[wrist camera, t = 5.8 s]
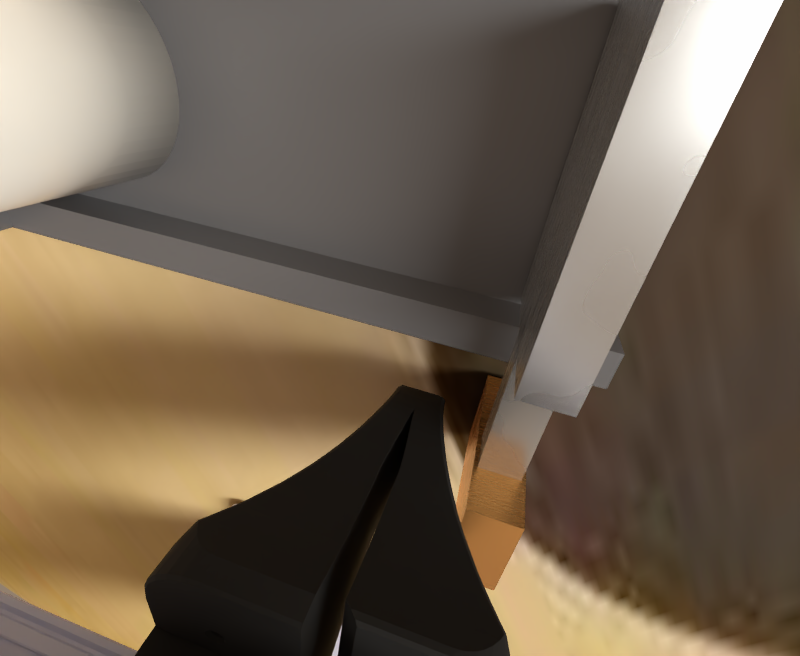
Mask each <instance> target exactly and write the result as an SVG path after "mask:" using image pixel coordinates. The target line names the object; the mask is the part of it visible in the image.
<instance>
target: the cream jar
mask: <svg viewBox="0 0 800 656" xmlns="http://www.w3.org/2000/svg"><path fill="white" fill-rule="evenodd" d="M178 125H179V97H178V89H177V84H176V78H175V74H174V71H173V67H172V63H171V60H170V58H169V55H168V52H167V49H166V47H165V44H164V42H163V40H162V38H161V36H160V34H159V31H158V30H157V28H156V26H155V24H154V23H153V21H152V19H151V17H150V15H149V14H148V13H147V11H146V10H145V8H144V7H143V5H142V4H141V2H140V1H139V0H0V212H3V211H7V210H11V209H15V208H20V207H24V206H28V205H32V204H36V203H40V202H44V201H48V200H53V199H57V198H61V197H65V196H69V195H73V194H77V193H82V192H86V191H90V190H94V189H98V188H102V187H106V186H110V185H115V184H119V183H123V182H127V181H131V180H135V179H139V178H143V177H145V176H148V175H150V174H152V173H153V172H155V171H156V170H158V169H159V168H160V167H161V166H162V165H163V164H164V162H165V161H166V160H167V158H168V157H169V155H170V153H171V151H172V149H173V147H174V143H175V140H176V137H177V132H178Z"/></svg>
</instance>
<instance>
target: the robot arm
mask: <svg viewBox="0 0 800 656" xmlns="http://www.w3.org/2000/svg"><path fill="white" fill-rule="evenodd" d="M444 404H445V400H444V398H443V397H442V396H438V395H435V394H432V393H428V392H425V391H421V390H418V389H414V388H411V387H408V386H404V385H402V386H400V387H398V388H397V390H396V391H395V392H394V393H393V395H392V396H391V397H390V398H389V399H388V400H387V401H386V402H385V403H384V405H383V406H382V407H381V408H380V409H379V410H378V411H377V412H376V413H375V414H374V415H372V416H371V417H370V418H369V419H368V420H367V421H366V422H365V423H364V424H363V425H362V426H361V427H360V428H358V429H357V430H356V431H355V432H354V433H352V434H351V435H350V436H349V437H348V438H346V439H345V440H344V441H343V442H342V443H340V444H339V445H338V446H336V447H335V448H334V449H332V450H331V451H330V452H328V453H327V454H326V455H324V456H323V457H321V458H320V459H318V460H317V461H315V462H314V463H312V464H311V465H309V466H308V467H306V468H304V469H303V470H301V471H300V472H298V473H296V474H295V475H293V476H291V477H290V478H288V479H286V480H285V481H283V482H281V483H279V484H277V485H275V486H273V487H271V488H269V489H267V490H265V491H263V492H261V493H260V494H258V495H256V496H254V497H252V498H250V499H248V500H245V501H243V502H241V503H239V504H233V505H232V506H231V507H229V508H227V509H225V510H222V511H220V512H217V513H215V514H213V515H210V516H208V517H205V518H203V519H200V520H198V521H197V522H196V523H195V524H194V525H193V526H192V527H191V528H190V529H189V530H188V531H187V532H186V533H185V534H184V535H183V536H182V537H181V538H180V539H179V540H178V541H177V542H176V543H175V545H174V546H173V547H172V548H171V549H170V551H169V552H168V553H167V555H166V556H165V557H164V558H163V560H162V561H161V562H160V563H159V565H158V566H157V567H156V569H155V570H154V571H153V572H152V574H151V575H150V576H149V577H148V579H147V581H146V583H145V594H146V599H147V602H148V605H149V608H150V611H151V614H152V616H153V619H154V622H155V625H156V626H155V627H154V629H153V630H152V632H151V633H150V634H149V636H148V637H147V639H146V640H145V642H144V643H143V644H142V646H141V647H140V649H139V650H138V651H136V650H134V649H132V648H129V647H127V646H125V645H122V644H120V643H118V642H116V641H113V640H111V639H109V638H107V637H104V636H102V635H100V634H97V633H95V632H93V631H91V630H88V629H86V628H84V627H82V626H79V625H77V624H75V623H72V622H70V621H68V620H66V619H63V618H61V617H59V616H57V615H54V614H52V613H50V612H48V611H45V610H43V609H41V608H38V607H36V606H34V605H32V604H29V603H27V602H25V601H23V600H20V599H18V598H16V597H13V596H11V595H9V594H6V593H4V592H2V591H0V656H510V652H509V647H508V641H507V636H506V633H505V631H504V629H503V627H502V625H501V623H500V621H499V619H498V616H497V614H496V612H495V610H494V608H493V606H492V604H491V601H490V599H489V597H488V595H487V592H486V590H485V588H484V585H483V583H482V580H481V578H480V576H479V573H478V571H477V568H476V566H475V563H474V560H473V557H472V555H471V552H470V549H469V546H468V544H467V541H466V538H465V535H464V532H463V529H462V525H461V522H460V519H459V516H458V512H457V508H456V504H455V501H454V497H453V492H452V488H451V483H450V478H449V473H448V467H447V461H446V453H445V444H444V433H443V411H444ZM372 537H373V538H372ZM371 539H372V540H371ZM370 542H371V543H370Z"/></svg>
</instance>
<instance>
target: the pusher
mask: <svg viewBox="0 0 800 656" xmlns="http://www.w3.org/2000/svg"><path fill="white" fill-rule="evenodd" d="M782 2H783V0H620V1H619V4H618V7H617V10H616V13H615V16H614V19H613V22H612V25H611V28H610V31H609V34H608V37H607V40H606V43H605V46H604V49H603V52H602V55H601V58H600V61H599V64H598V67H597V70H596V73H595V76H594V79H593V82H592V85H591V88H590V91H589V94H588V97H587V100H586V103H585V106H584V109H583V112H582V115H581V118H580V121H579V124H578V127H577V130H576V133H575V136H574V139H573V142H572V145H571V148H570V151H569V154H568V157H567V160H566V163H565V166H564V169H563V172H562V175H561V178H560V181H559V184H558V187H557V190H556V193H555V196H554V199H553V202H552V205H551V208H550V211H549V214H548V217H547V220H546V223H545V226H544V229H543V232H542V235H541V238H540V241H539V244H538V247H537V251H536V254H535V257H534V260H533V263H532V266H531V269H530V272H529V275H528V278H527V281H526V284H525V287H524V290H523V293H522V296H521V307H520V321H519V332H518V335H517V337H516V340H515V343H514V346H513V349H512V352H511V355H510V358H509V361H508V363H507V366H506V369H505V372H504V375H503V378H502V379H500V378H497V377H493V376H490V375H488V377H487V380H486V384H485V387H484V390H483V393H482V396H481V399H480V402H479V405H478V408H477V412H476V415H475V418H474V421H473V424H472V427H471V430H470V434H469V440H468V445H467V450H466V455H465V461H464V466H463V471H462V476H461V482H460V487H459V492H458V497H457V503H456V508H457V512H458V516H459V519H460V522H461V525H462V529H463V532H464V535H465V538H466V541H467V544H468V546H469V549H470V552H471V555H472V557H473V560H474V563H475V566H476V568H477V571H478V573H479V576H480V578H481V580H482V583H483V585H484V587H486V588H488V589H491V590H494V589H495V587H496V585H497V583H498V581H499V579H500V577H501V575H502V573H503V571H504V569H505V567H506V565H507V563H508V561H509V559H510V557H511V555H512V553H513V551H514V549H515V547H516V545H517V543H518V541H519V539H520V537H521V535H522V533H523V531H524V528H525V491H526V469H527V467H528V465H529V463H530V461H531V458H532V456H533V454H534V452H535V449H536V447H537V445H538V443H539V441H540V438H541V436H542V434H543V432H544V430H545V427H546V425H547V423H548V421H549V418H550V416H551V414H552V412H553V411H556V412H559V413H563V414H566V415H570V416H573V417H577V415H578V413H579V411H580V409H581V407H582V405H583V403H584V401H585V399H586V397H587V395H588V393H589V391H590V389H591V387H592V385H593V383H594V381H595V379H596V377H597V375H598V373H599V371H600V369H601V367H602V365H603V363H604V360H605V358H606V356H607V354H608V352H609V350H610V348H611V346H612V344H613V342H614V340H615V338H616V336H617V334H618V332H619V330H620V328H621V326H622V324H623V322H624V320H625V318H626V316H627V314H628V312H629V310H630V308H631V306H632V304H633V302H634V300H635V298H636V296H637V294H638V292H639V290H640V288H641V286H642V284H643V282H644V280H645V278H646V276H647V274H648V272H649V270H650V268H651V266H652V264H653V262H654V260H655V258H656V256H657V254H658V252H659V250H660V248H661V246H662V244H663V242H664V240H665V237H666V235H667V233H668V231H669V229H670V227H671V225H672V223H673V221H674V219H675V217H676V215H677V213H678V211H679V209H680V207H681V205H682V203H683V201H684V199H685V197H686V195H687V193H688V191H689V189H690V187H691V185H692V183H693V181H694V179H695V177H696V175H697V173H698V171H699V169H700V167H701V165H702V163H703V161H704V159H705V157H706V155H707V153H708V151H709V149H710V147H711V145H712V143H713V141H714V139H715V137H716V135H717V133H718V131H719V129H720V127H721V125H722V123H723V121H724V119H725V117H726V114H727V112H728V110H729V108H730V106H731V104H732V102H733V100H734V98H735V96H736V94H737V92H738V90H739V88H740V86H741V84H742V82H743V80H744V78H745V76H746V74H747V72H748V70H749V68H750V66H751V64H752V62H753V60H754V58H755V56H756V54H757V52H758V50H759V48H760V46H761V44H762V42H763V40H764V38H765V36H766V34H767V32H768V30H769V28H770V26H771V24H772V22H773V20H774V18H775V16H776V14H777V12H778V10H779V8H780V6H781V4H782Z"/></svg>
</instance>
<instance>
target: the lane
mask: <svg viewBox="0 0 800 656" xmlns="http://www.w3.org/2000/svg"><path fill="white" fill-rule="evenodd" d="M139 1H140V2H141V4H142V5H143V7H144V8H145V10H146V11H147V13H148V14H149V15H150V17H151V19H152V21H153V23H154V24H155V26H156V28H157V30H158V31H159V34H160V36H161V38H162V40H163V42H164V44H165V47H166V49H167V52H168V55H169V58H170V60H171V63H172V67H173V71H174V74H175V78H176V84H177V89H178V97H179V125H178V132H177V137H176V140H175V143H174V147H173V149H172V151H171V153H170V155H169V157H168V158H167V160H166V161H165V162H164V164H163V165H162V166H161V167H160V168H159V169H158V170H156V171H155V172H153V173H152V174H150V175H148V176H145V177H143V178H139V179H135V180H131V181H127V182H123V183H119V184H115V185H110V186H106V187H102V188H98V189H94V190H90V191H86V192H82V193H77V194H73V195H69V196H65V197H61V198H57V199H53V200H48V201H44V202H40V203H36V204H32V205H28V206H24V207H20V208H15V209H11V210H7V211H3V212H0V231H1V230H4V229H8V228H12V227H14V228H18V229H21V230H25V231H29V232H32V233H36V234H40V235H43V236H47V237H51V238H54V239H58V240H62V241H65V242H69V243H73V244H76V245H80V246H84V247H87V248H91V249H95V250H98V251H102V252H106V253H109V254H113V255H117V256H120V257H124V258H128V259H131V260H135V261H139V262H142V263H146V264H150V265H153V266H157V267H161V268H164V269H168V270H172V271H175V272H179V273H183V274H186V275H190V276H194V277H197V278H201V279H205V280H208V281H212V282H216V283H219V284H223V285H227V286H230V287H234V288H238V289H241V290H245V291H249V292H252V293H256V294H260V295H263V296H267V297H271V298H274V299H278V300H282V301H285V302H289V303H293V304H296V305H300V306H304V307H307V308H311V309H315V310H318V311H322V312H326V313H329V314H333V315H337V316H340V317H344V318H347V319H351V320H355V321H358V322H362V323H366V324H369V325H373V326H377V327H380V328H384V329H388V330H391V331H395V332H399V333H402V334H406V335H410V336H413V337H417V338H421V339H424V340H428V341H432V342H435V343H439V344H443V345H446V346H450V347H454V348H457V349H461V350H465V351H468V352H472V353H476V354H479V355H483V356H487V357H490V358H494V359H498V360H501V361H505V362H508V361H509V358H510V355H511V352H512V349H513V346H514V343H515V340H516V337H517V335H518V332H519V321H520V307H521V296H522V293H523V290H524V287H525V284H526V281H527V278H528V275H529V272H530V269H531V266H532V263H533V260H534V257H535V254H536V251H537V247H538V244H539V241H540V238H541V235H542V232H543V229H544V226H545V223H546V220H547V217H548V214H549V211H550V208H551V205H552V202H553V199H554V196H555V193H556V190H557V187H558V184H559V181H560V178H561V175H562V172H563V169H564V166H565V163H566V160H567V157H568V154H569V151H570V148H571V145H572V142H573V139H574V136H575V133H576V130H577V127H578V124H579V121H580V118H581V115H582V112H583V109H584V106H585V103H586V100H587V97H588V94H589V91H590V88H591V85H592V82H593V79H594V76H595V73H596V70H597V67H598V64H599V61H600V58H601V55H602V52H603V49H604V46H605V43H606V40H607V37H608V34H609V31H610V28H611V25H612V22H613V19H614V16H615V13H616V10H617V7H618V4H619V1H620V0H139ZM624 355H625V354H624V351H623V348H622V345H621V342H620V339H619V336H618V334H617V336H616V338H615V340H614V342H613V344H612V346H611V348H610V350H609V352H608V354H607V356H606V358H605V360H604V363H603V365H602V367H601V369H600V371H599V373H598V375H597V377H596V379H595V381H594V383H593V386H597V387H600V388H604V389H607V387H608V385H609V383H610V381H611V380H612V378H613V376H614V374H615V372H616V370H617V368H618V366H619V364H620V362H621V360H622V359H623V357H624Z"/></svg>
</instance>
